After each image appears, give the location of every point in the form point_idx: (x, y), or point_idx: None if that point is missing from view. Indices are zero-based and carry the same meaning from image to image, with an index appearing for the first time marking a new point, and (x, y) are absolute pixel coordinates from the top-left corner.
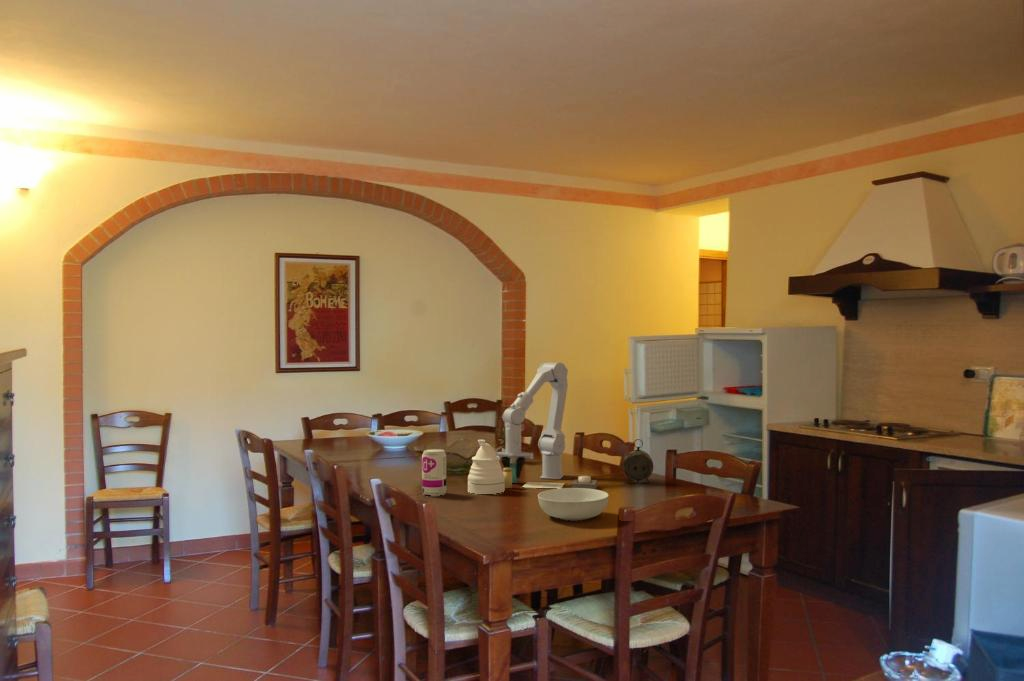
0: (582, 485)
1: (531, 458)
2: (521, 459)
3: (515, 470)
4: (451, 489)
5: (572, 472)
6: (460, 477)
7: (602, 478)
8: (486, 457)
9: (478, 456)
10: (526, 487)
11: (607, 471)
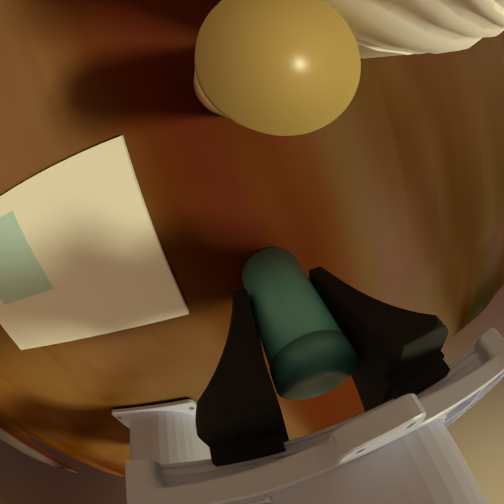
0: None
1: (130, 462)
2: (222, 432)
3: (272, 324)
4: None
5: None
6: (485, 263)
7: (42, 431)
8: None
9: None
10: (87, 149)
11: (107, 471)
